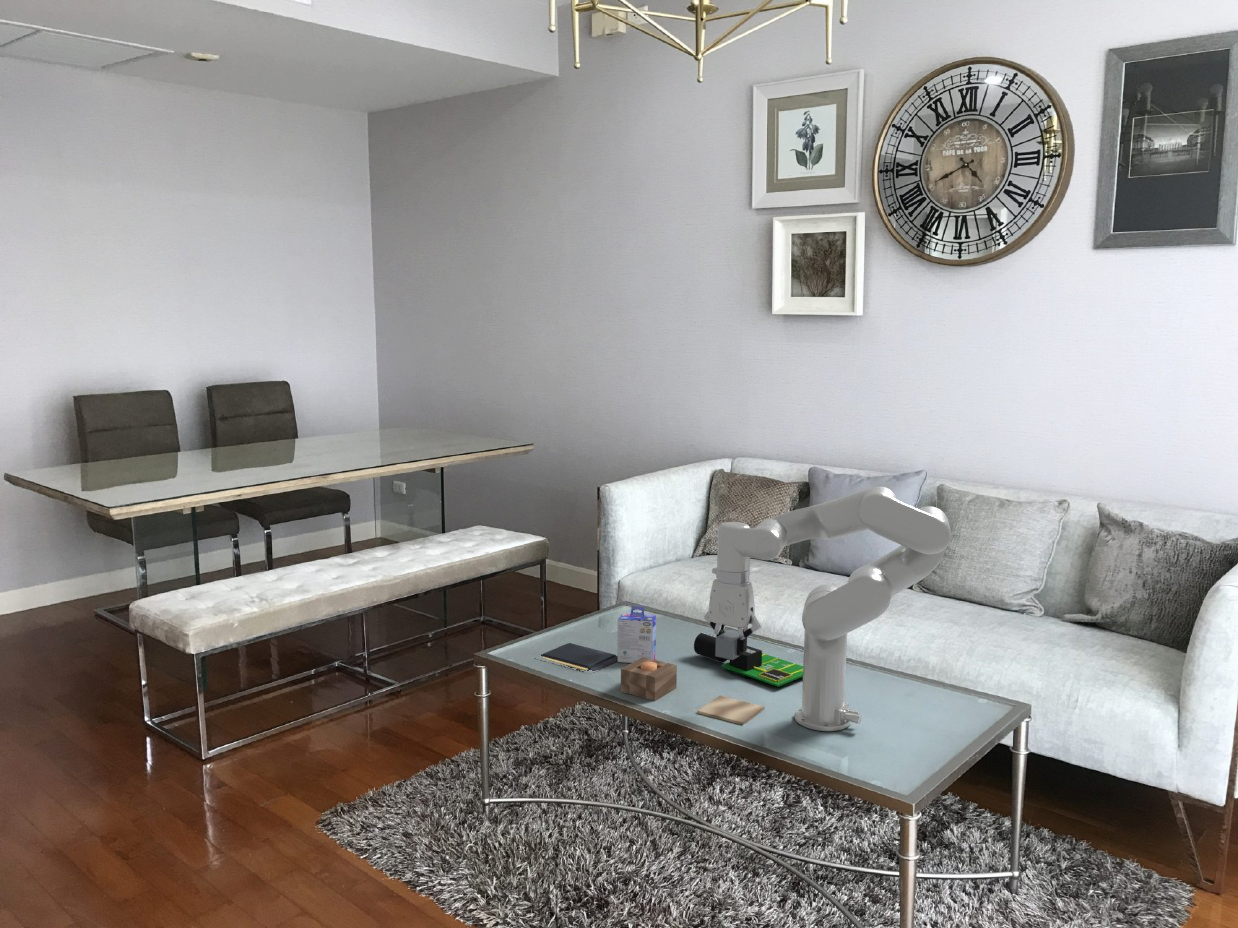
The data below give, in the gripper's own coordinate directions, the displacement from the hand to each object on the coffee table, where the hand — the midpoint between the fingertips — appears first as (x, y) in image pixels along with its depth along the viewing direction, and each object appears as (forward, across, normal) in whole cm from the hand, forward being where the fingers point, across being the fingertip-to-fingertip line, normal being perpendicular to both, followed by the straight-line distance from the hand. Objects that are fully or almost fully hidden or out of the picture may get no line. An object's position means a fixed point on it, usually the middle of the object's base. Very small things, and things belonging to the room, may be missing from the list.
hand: (731, 651), depth 229 cm
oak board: (+15, 0, 0) cm, 15 cm away
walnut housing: (+15, -23, 0) cm, 27 cm away
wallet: (+16, -51, +8) cm, 54 cm away
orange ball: (+12, -23, 0) cm, 26 cm away
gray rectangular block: (+1, 0, 0) cm, 1 cm away
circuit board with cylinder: (+15, -9, +28) cm, 33 cm away
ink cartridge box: (+15, -37, +16) cm, 43 cm away
